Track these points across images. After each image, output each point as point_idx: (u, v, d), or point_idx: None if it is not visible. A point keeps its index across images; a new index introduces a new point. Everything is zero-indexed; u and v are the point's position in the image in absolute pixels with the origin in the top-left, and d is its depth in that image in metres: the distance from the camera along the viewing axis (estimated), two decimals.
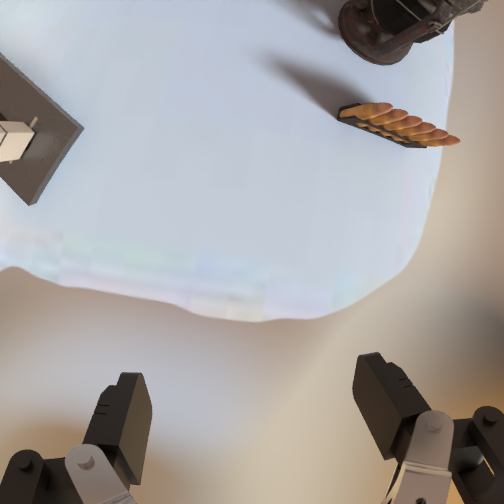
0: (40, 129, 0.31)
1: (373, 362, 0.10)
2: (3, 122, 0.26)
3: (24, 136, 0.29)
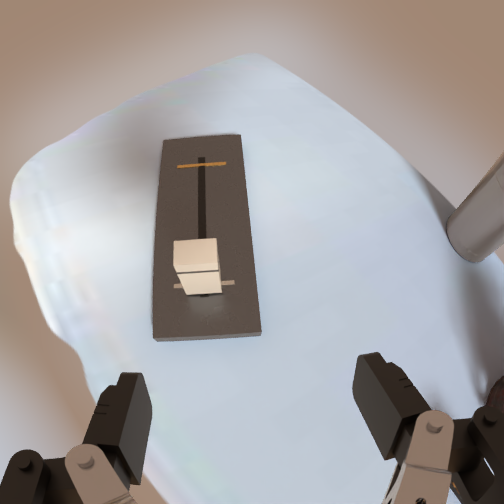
0: (228, 294, 0.37)
1: (373, 362, 0.10)
2: None
3: (215, 286, 0.35)
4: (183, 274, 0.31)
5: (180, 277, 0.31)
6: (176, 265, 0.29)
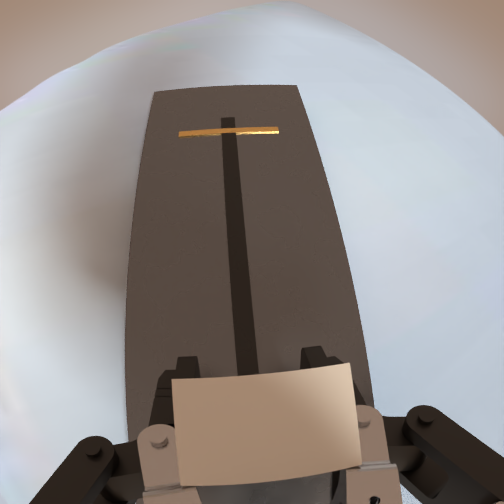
0: None
1: (313, 355, 0.11)
2: None
3: None
4: None
5: None
6: (193, 483, 0.06)
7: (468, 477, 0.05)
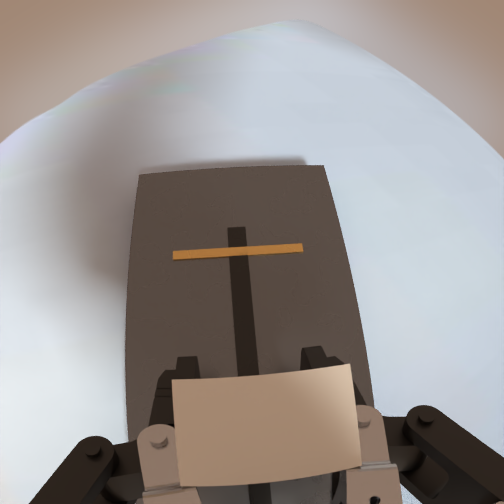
0: None
1: (313, 355, 0.11)
2: None
3: None
4: None
5: None
6: (192, 483, 0.06)
7: (468, 477, 0.05)
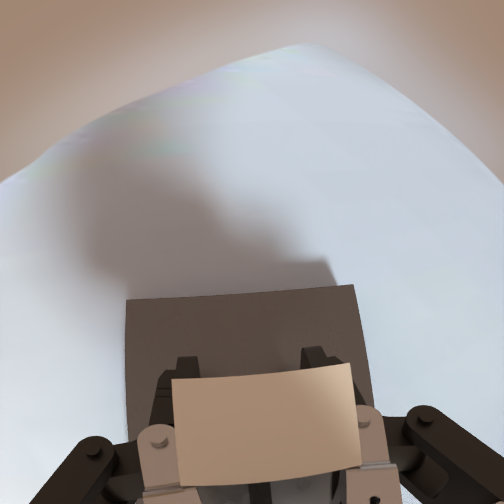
0: None
1: (313, 355, 0.11)
2: None
3: None
4: None
5: None
6: (193, 483, 0.06)
7: (468, 477, 0.05)
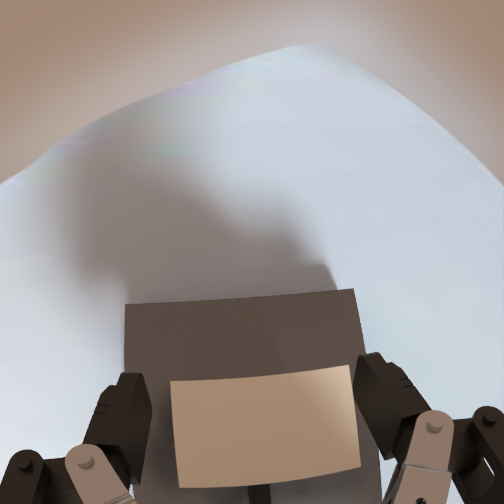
0: None
1: (373, 362, 0.10)
2: None
3: None
4: None
5: None
6: (191, 485, 0.06)
7: None
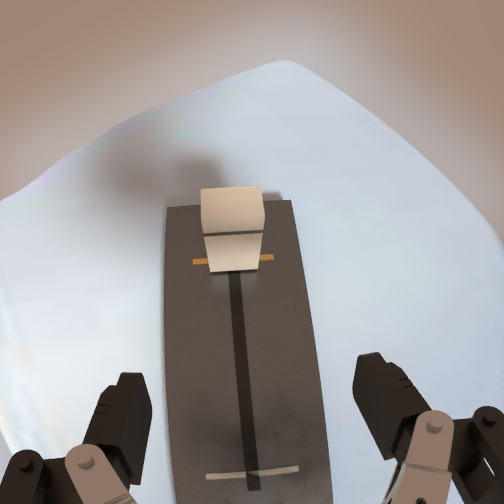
0: (289, 485, 0.20)
1: (373, 362, 0.10)
2: None
3: (252, 259, 0.26)
4: (212, 237, 0.22)
5: (207, 242, 0.23)
6: (205, 220, 0.20)
7: None
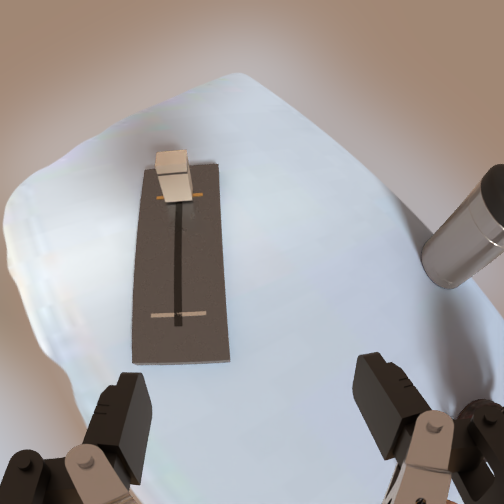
0: (200, 324, 0.39)
1: (373, 362, 0.10)
2: (188, 166, 0.43)
3: (187, 192, 0.45)
4: (162, 176, 0.41)
5: (160, 180, 0.42)
6: (157, 166, 0.39)
7: None
